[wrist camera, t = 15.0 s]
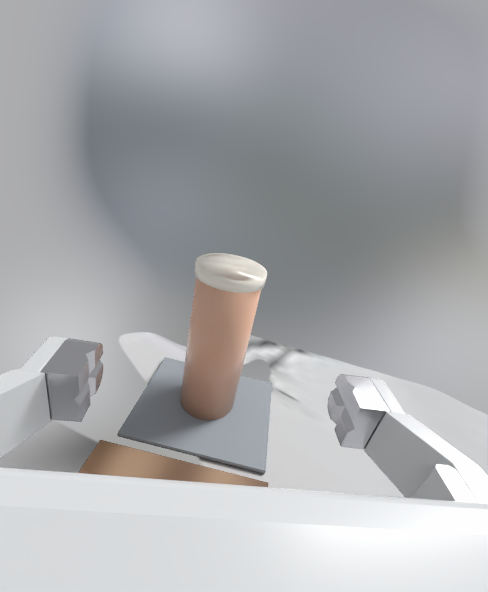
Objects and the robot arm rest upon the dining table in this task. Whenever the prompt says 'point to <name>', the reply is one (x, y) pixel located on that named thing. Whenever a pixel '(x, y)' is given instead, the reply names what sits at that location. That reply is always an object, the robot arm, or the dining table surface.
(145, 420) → the grey mat
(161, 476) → the walnut holder
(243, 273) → the peach tumbler
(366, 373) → the dining table surface
